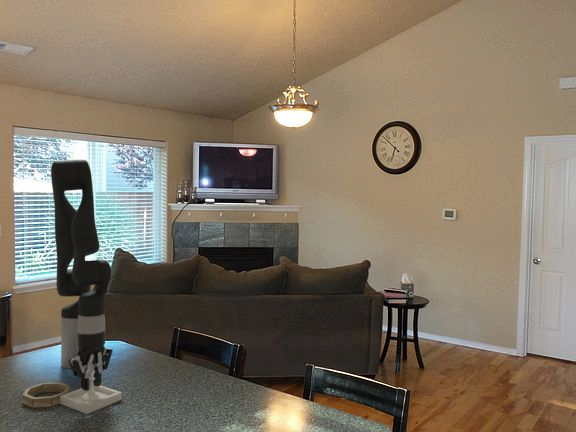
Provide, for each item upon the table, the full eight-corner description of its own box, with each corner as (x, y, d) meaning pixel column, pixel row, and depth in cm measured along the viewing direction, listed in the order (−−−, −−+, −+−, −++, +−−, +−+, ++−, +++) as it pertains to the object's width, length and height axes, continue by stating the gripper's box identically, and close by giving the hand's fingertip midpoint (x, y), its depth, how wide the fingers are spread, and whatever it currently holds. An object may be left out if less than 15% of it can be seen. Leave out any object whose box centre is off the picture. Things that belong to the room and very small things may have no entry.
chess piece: (94, 402, 152) (94, 367, 151) (78, 400, 153) (78, 366, 152) (103, 395, 157) (103, 362, 156) (88, 393, 158) (88, 360, 157)
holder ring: (52, 387, 164) (52, 379, 164) (77, 396, 158) (77, 388, 158) (15, 400, 154) (15, 392, 154) (40, 410, 148) (40, 401, 148)
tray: (94, 390, 163) (94, 383, 163) (121, 399, 157) (121, 392, 157) (59, 403, 153) (59, 396, 153) (87, 414, 147) (87, 406, 147)
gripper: (102, 322, 162) (102, 377, 163) (61, 332, 150) (61, 392, 151) (119, 326, 158) (119, 383, 159) (78, 337, 146) (78, 398, 147)
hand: (91, 387), depth 155 cm, fingers open, 3 cm apart
